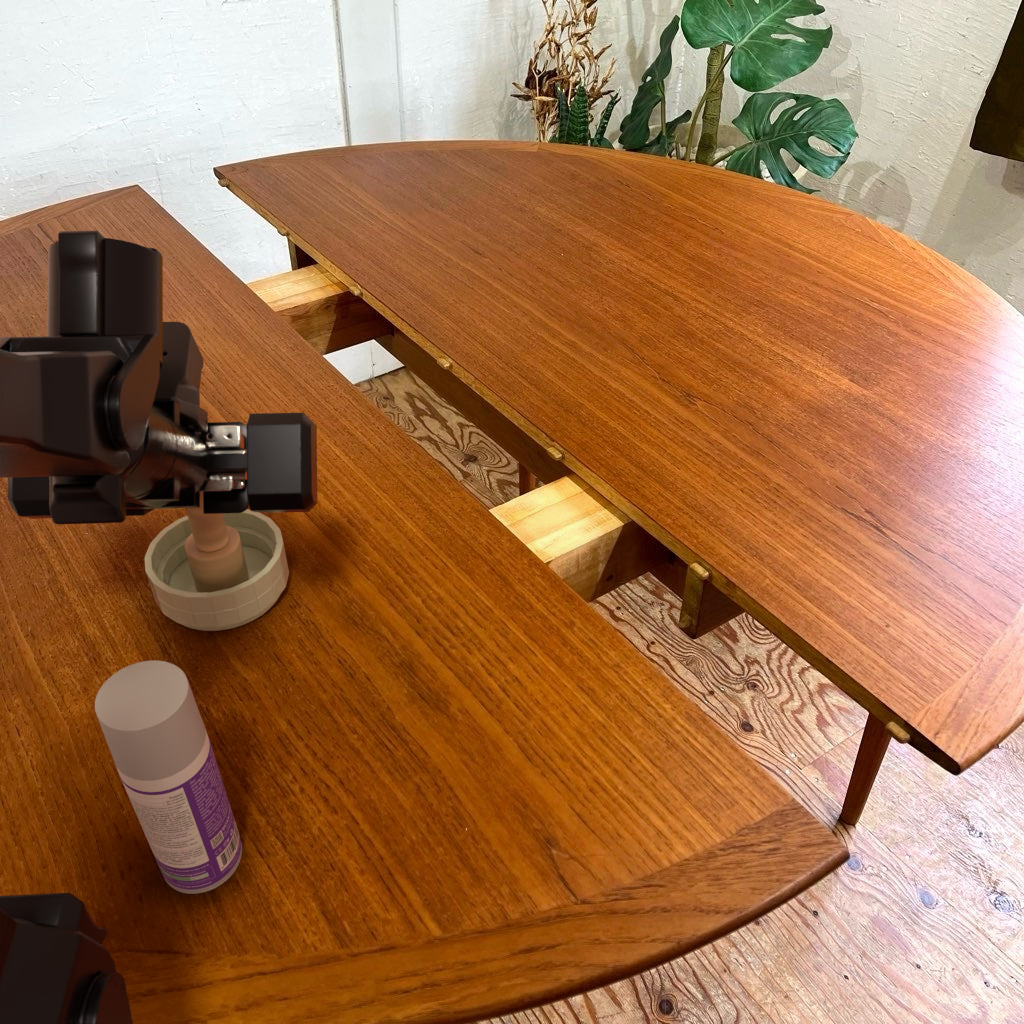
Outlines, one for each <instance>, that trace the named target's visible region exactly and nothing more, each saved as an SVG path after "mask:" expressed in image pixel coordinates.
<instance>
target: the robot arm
mask: <svg viewBox="0 0 1024 1024" xmlns="http://www.w3.org/2000/svg"><path fill="white" fill-rule="evenodd" d="M57 234H58V235H57V239H58V240H57V241H54V242H53V243H52V244H50V245H49V246H48V249H47V301H46V303H47V304H46V305H47V310H46V311H47V313H46V314H47V315H46V335H44V336H43V335H42V336H41V335H40V336H38V335H37V336H36V335H35V336H1V337H0V479H5V478H7V500H8V503H9V505H10V507H11V509H12V510H13V511H14V512H15V513H16V515H17V516H18V517H22V518H27V519H33V520H36V519H39V520H40V519H51V521H52V522H53V524H55V525H85V524H86V525H88V524H89V525H90V524H121V523H123V522H125V521H126V519H127V517H134V516H135V517H136V516H137V517H138V516H145V515H147V514H149V513H151V512H152V511H155V510H156V509H158V510H159V509H160V510H161V509H186V508H200V492H203V513H204V514H221V513H242V512H244V511H246V510H247V509H249V510H250V511H253V512H259V513H261V514H276V513H277V514H278V513H280V514H281V513H282V514H283V513H309V512H310V511H312V509H313V508H314V507H315V506H316V505H317V504H318V429H317V428H318V427H317V425H316V424H315V423H314V421H313V420H311V418H309V416H307V415H306V414H305V413H304V412H264V413H263V412H262V413H259V412H258V413H249V416H248V419H247V423H246V424H245V423H243V422H240V421H218V422H217V421H216V422H208V421H209V419H208V418H209V417H208V414H209V412H208V411H207V410H205V409H203V408H202V407H201V403H200V402H201V399H200V398H201V397H200V396H201V393H200V388H201V379H202V370H203V368H204V364H205V362H204V361H205V360H204V357H203V354H202V352H201V350H200V348H199V346H198V344H197V341H196V339H195V337H194V335H193V333H192V330H191V328H190V327H189V326H188V325H187V324H186V323H184V322H182V321H164V318H163V317H164V298H163V297H164V295H163V294H164V280H163V279H164V269H163V268H164V264H163V263H164V257H163V255H162V253H161V251H159V250H158V249H157V248H154V247H147V246H144V245H141V244H138V243H135V242H130V241H127V240H121V239H117V238H108V237H104V235H103V234H102V233H101V232H100V231H98V230H61V231H59V232H58V233H57ZM107 935H108V929H107V927H99V926H98V925H96V924H95V923H94V921H93V919H92V918H91V916H90V914H89V911H88V908H87V906H86V904H85V903H84V901H82V900H81V899H79V898H78V897H77V896H75V895H73V894H72V893H71V892H54V893H52V892H51V893H31V894H10V895H9V894H8V895H7V894H6V895H0V1024H134V1021H133V1017H132V1016H133V1015H132V1010H131V1005H130V1000H129V996H128V990H127V989H128V988H127V985H126V981H125V978H124V977H123V974H122V973H120V972H117V968H116V964H115V961H114V959H113V957H112V954H111V953H110V951H109V949H107V948H106V947H105V946H104V945H103V944H104V942H105V940H106V938H107Z"/></svg>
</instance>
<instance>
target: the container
mask: <svg viewBox="0 0 1024 1024" xmlns="http://www.w3.org/2000/svg"><path fill="white" fill-rule="evenodd" d="M94 711H95V715H96V717H97V720H98V722H99V725H100V728H101V730H102V731H101V732H102V734H103V736H104V739H105V741H106V744H107V747H108V749H109V751H110V752H109V753H110V755H111V757H112V760H113V763H114V765H115V767H116V771H117V773H118V775H119V778H120V780H121V782H122V785H123V788H124V790H125V792H126V793H127V797H128V799H129V801H130V803H131V806H132V808H133V810H134V812H135V815H136V817H137V819H138V822H139V824H140V826H141V829H142V832H143V833H144V836H145V838H146V840H147V842H148V845H149V847H150V850H151V853H152V854H153V856H154V859H155V861H156V864H157V866H158V868H159V871H160V874H161V875H162V877H163V879H164V881H165V883H167V885H168V886H169V887H170V888H172V889H173V890H175V891H177V892H180V893H183V894H189V895H190V894H192V895H197V894H202V893H203V894H204V893H207V892H210V891H212V890H214V889H216V888H218V887H220V886H221V885H222V884H224V883H225V882H227V881H228V880H229V879H230V878H231V877H232V875H234V873H235V872H236V870H237V868H238V867H239V865H240V862H241V859H242V855H243V843H242V840H241V836H240V832H239V829H238V826H237V823H236V819H235V817H234V813H233V810H232V806H231V804H230V800H229V797H228V794H227V792H226V787H225V785H224V782H223V778H222V775H221V771H220V769H219V766H218V763H217V759H216V755H215V753H214V750H213V747H212V743H211V740H210V737H209V735H208V732H207V729H206V726H205V723H204V721H203V719H202V715H201V713H200V710H199V707H198V704H197V701H196V698H195V696H194V694H193V690H192V688H191V685H190V682H189V679H188V678H187V675H186V673H185V672H184V671H183V670H182V669H181V668H180V667H179V666H177V665H176V664H174V663H171V662H168V661H164V660H156V659H155V660H154V659H153V660H143V661H139V662H135V663H132V664H129V665H127V666H124V667H122V668H121V669H119V670H118V671H115V672H114V673H113V674H112V675H111V676H109V677H108V678H107V679H106V680H105V681H104V682H103V684H102V685H101V687H99V689H98V692H97V693H96V696H95V700H94Z"/></svg>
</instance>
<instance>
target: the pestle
mask: <svg viewBox="0 0 1024 1024" xmlns="http://www.w3.org/2000/svg"><path fill="white" fill-rule="evenodd" d="M185 511H186V516H188V519H189V523H190V527H191V530H192V534H191V535H190V536H189V537H188V538H187V540H186V542H185V552H186V555H187V559H188V562H189V566H190V569H191V573H192V576H193V580H194V583H195V587H196V589H197V591H198V592H215V591H219V590H224V589H229V588H232V587H234V586H237V585H239V584H241V583H243V582H246V581H248V577H249V575H248V570H247V566H246V561H245V557H244V553H243V548H242V544H241V540H240V536H239V533H238V532H237V531H236V530H235V529H234V528H232V527H230V526H227V525H225V521H224V517H223V513H221V514H204V513H203V492H200V508H185Z"/></svg>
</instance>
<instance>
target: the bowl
mask: <svg viewBox="0 0 1024 1024" xmlns="http://www.w3.org/2000/svg"><path fill="white" fill-rule="evenodd" d="M223 517H224V521H225V525H227V526H230V527H232V528H234V529H235V530H236V531H237V532H238V533H239V536H240V540H241V544H242V548H243V553H244V557H245V561H246V566H247V570H248V575H249V577H248V581H246V582H243V583H241V584H239V585H237V586H234V587H232V588H229V589H224V590H219V591H215V592H198V591H197V589H196V587H195V583H194V580H193V576H192V573H191V569H190V566H189V562H188V559H187V555H186V552H185V542H186V540H187V538H188V537H189V536H190V535H191V534H192V530H191V527H190V523H189V519H188V516H187V515H185V516H183V517H180V518H178V519H176V520H175V521H174V522H171V523H170V524H168V526H165V527H164V528H163V529H161V530H160V531H159V533H158V534H157V535H156V536H155V537H154V538H153V539H152V541H151V542H150V543H149V545H148V548H147V550H146V553H145V555H144V570H145V574H146V578H147V581H148V583H149V587H150V590H151V593H152V596H153V599H154V602H155V604H156V605H157V607H158V608H159V610H160V611H161V613H162V614H163V615H164V616H166V617H167V618H168V619H170V620H171V621H174V622H175V623H177V624H179V625H181V626H184V627H185V628H189V629H192V630H197V631H204V632H216V631H225V630H230V629H235V628H238V627H241V626H244V625H247V624H249V623H250V622H253V621H255V620H257V619H258V618H260V617H261V616H263V615H265V613H267V612H268V611H269V610H270V609H271V608H272V607H273V606H274V605H275V604H276V603H277V601H278V600H279V598H280V596H281V595H282V593H283V591H284V590H286V588H287V583H288V579H289V575H290V570H289V565H288V559H287V554H286V549H285V544H284V539H283V535H282V530H281V529H280V527H279V526H278V525H277V523H275V522H274V520H273V519H272V518H271V517H268V516H267V515H265V514H264V513H262V512H253V511H250V508H248V509H247V510H246V511H244V512H242V513H223Z"/></svg>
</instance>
